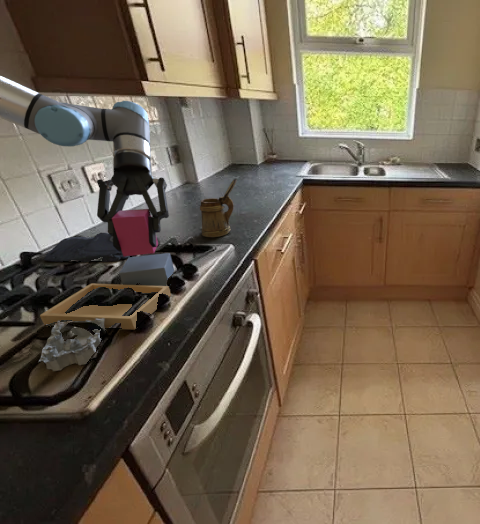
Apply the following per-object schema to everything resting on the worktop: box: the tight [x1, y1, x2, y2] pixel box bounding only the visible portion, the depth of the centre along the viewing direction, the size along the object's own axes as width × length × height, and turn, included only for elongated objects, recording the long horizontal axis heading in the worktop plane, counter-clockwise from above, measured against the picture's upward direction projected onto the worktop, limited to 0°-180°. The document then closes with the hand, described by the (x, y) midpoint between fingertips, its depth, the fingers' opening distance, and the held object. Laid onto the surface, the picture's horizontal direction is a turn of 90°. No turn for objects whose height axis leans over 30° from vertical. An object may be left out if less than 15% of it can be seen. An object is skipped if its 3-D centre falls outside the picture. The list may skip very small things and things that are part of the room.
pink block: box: [112, 208, 159, 257], centre depth 76 cm, size 6×6×9 cm
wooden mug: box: [199, 178, 238, 238], centre depth 109 cm, size 9×14×18 cm, turn 110°
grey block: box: [118, 252, 175, 286], centre depth 80 cm, size 9×9×5 cm
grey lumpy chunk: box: [38, 318, 107, 372], centre depth 58 cm, size 11×8×4 cm
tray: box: [39, 283, 172, 331], centre depth 69 cm, size 18×13×3 cm
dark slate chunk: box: [43, 232, 130, 263], centre depth 95 cm, size 15×22×5 cm
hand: (135, 246), depth 74 cm, fingers closed on pink block, 6 cm apart
